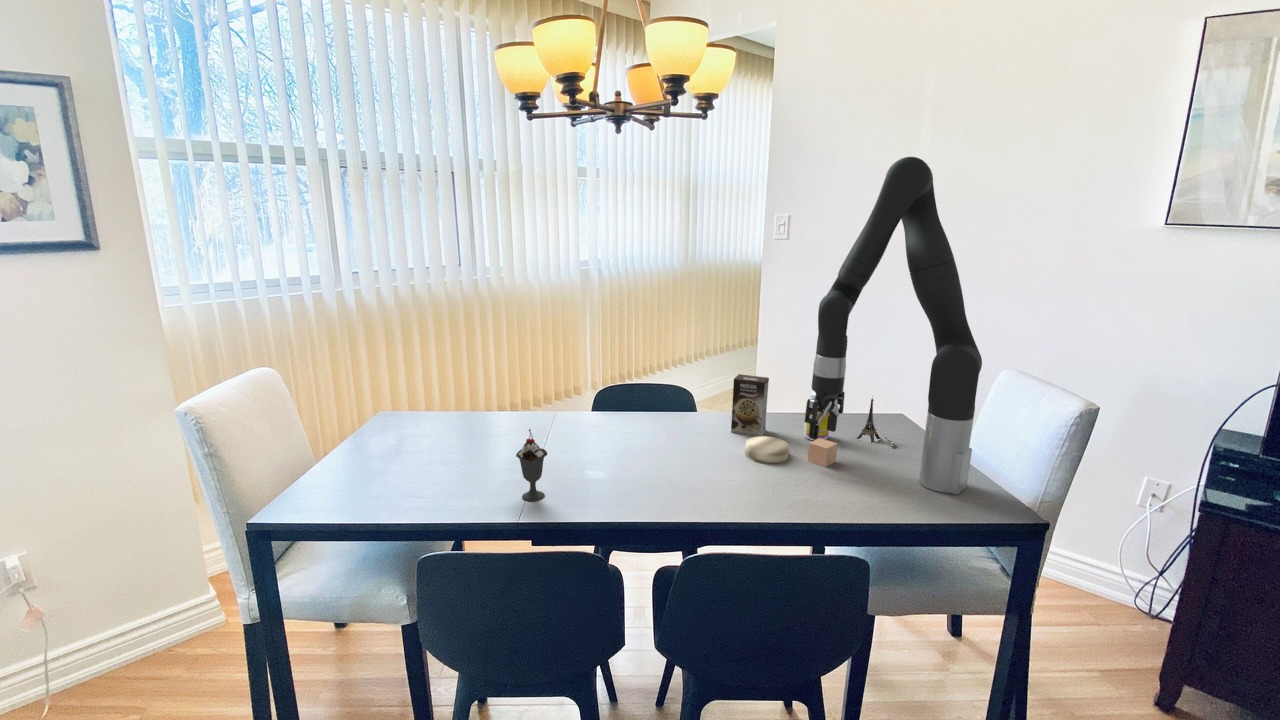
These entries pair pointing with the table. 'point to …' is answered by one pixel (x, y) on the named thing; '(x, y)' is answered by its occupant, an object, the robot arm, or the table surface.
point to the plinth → (766, 449)
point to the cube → (822, 452)
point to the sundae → (532, 467)
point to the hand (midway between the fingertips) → (822, 434)
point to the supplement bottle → (822, 426)
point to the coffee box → (749, 404)
